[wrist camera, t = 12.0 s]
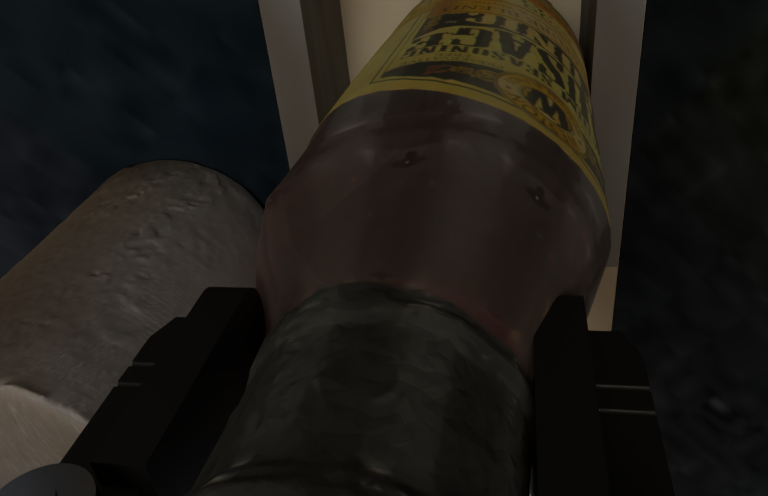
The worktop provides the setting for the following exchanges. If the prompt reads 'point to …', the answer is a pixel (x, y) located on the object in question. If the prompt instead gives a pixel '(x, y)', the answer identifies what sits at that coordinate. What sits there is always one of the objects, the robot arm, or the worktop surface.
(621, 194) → the socket board
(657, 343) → the worktop surface
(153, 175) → the pillar candle
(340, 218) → the sauce bottle
